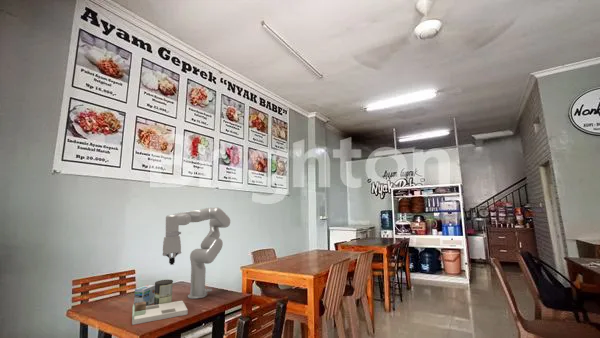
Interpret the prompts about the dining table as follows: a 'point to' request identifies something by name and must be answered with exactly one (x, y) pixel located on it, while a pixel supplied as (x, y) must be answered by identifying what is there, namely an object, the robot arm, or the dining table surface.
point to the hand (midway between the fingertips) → (171, 264)
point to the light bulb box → (145, 294)
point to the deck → (159, 312)
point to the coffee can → (163, 292)
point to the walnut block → (140, 306)
